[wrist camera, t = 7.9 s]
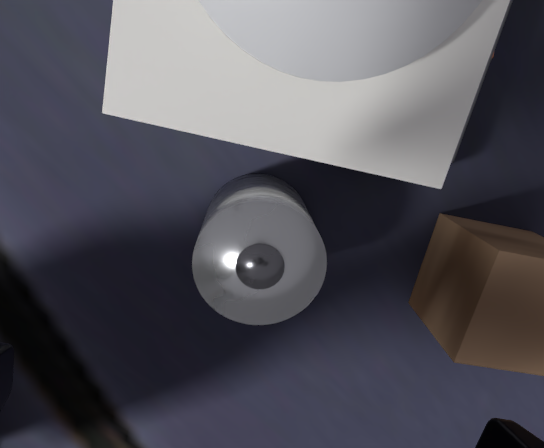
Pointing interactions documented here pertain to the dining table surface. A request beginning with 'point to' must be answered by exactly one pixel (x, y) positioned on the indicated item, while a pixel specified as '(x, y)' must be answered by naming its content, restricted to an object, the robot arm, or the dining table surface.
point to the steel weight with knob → (258, 252)
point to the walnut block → (484, 294)
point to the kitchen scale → (309, 76)
